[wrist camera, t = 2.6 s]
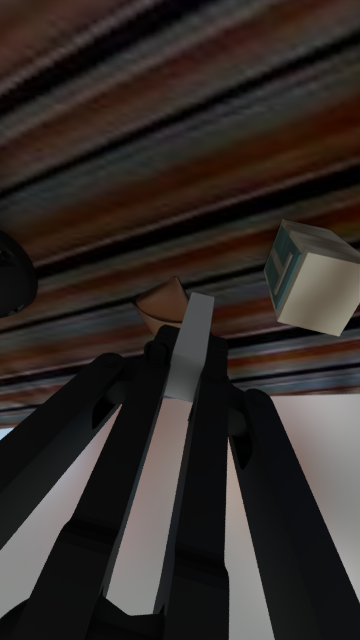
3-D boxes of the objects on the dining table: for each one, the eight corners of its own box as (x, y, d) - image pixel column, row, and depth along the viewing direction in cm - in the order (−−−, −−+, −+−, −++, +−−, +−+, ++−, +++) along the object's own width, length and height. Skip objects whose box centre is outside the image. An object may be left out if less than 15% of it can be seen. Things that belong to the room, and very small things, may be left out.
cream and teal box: (261, 269, 39) (273, 320, 27) (279, 218, 35) (304, 251, 23) (306, 280, 38) (338, 336, 27) (329, 229, 35) (380, 268, 23)
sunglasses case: (233, 358, 47) (214, 388, 44) (205, 357, 53) (185, 384, 49) (175, 272, 41) (147, 299, 37) (149, 281, 46) (123, 305, 43)
